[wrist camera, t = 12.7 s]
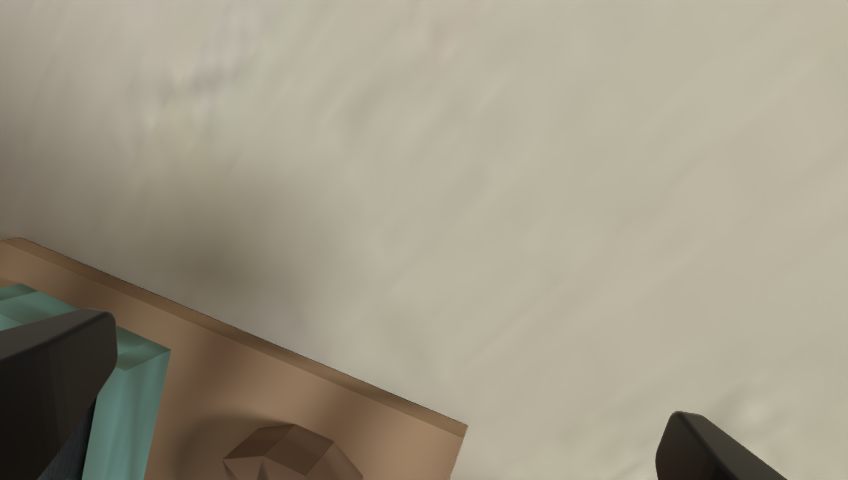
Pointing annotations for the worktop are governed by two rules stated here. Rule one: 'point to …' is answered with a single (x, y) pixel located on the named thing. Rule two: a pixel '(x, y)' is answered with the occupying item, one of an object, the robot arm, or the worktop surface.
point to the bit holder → (220, 393)
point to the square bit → (72, 450)
